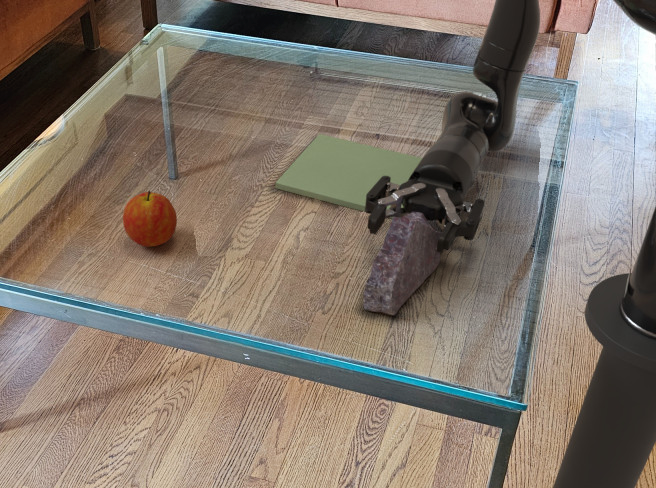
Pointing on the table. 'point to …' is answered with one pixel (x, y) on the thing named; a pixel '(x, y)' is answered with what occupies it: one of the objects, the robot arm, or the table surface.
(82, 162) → the table surface
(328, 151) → the mat
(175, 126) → the table surface
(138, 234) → the fruit
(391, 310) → the stone
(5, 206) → the table surface
